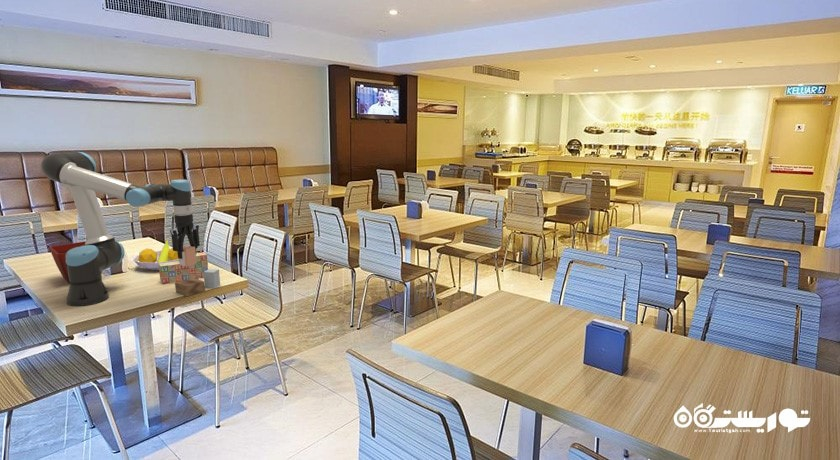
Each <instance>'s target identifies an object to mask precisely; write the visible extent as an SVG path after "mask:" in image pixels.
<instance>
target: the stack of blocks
mask: <svg viewBox="0 0 840 460" xmlns="http://www.w3.org/2000/svg"><path fill="white" fill-rule="evenodd" d="M196 253H197V254H196V260H197V264H194V265H190V266H183V265H180V261H175V262H167V263H159V270H158V271H159V280H160V282H161V284H162V285H165V284H166V285H167V284H175V283H176V282H179V281H183V280H187V279H191V278H195V279H199V278H200V279H204V271H206V270H208V269H209V264H208V263H209V262H208V261H209V260H208V254H207V253H206V252H204V251H202V252H196ZM200 279H199V280H200Z"/></svg>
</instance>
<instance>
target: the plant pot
mask: <svg viewBox="0 0 840 460" xmlns="http://www.w3.org/2000/svg"><path fill="white" fill-rule="evenodd" d="M86 241H87V240H86ZM86 241H85V240H84V241H79V242H72V243H64V244H58V245H51V246H49V250H50V254H51V256H52V257H53V261H54V263H55V264H56V267H57V269H58V270H59V272H60V274H61V276H62V277H63V279H64V280H65V281H66V282H67V283H68V284H69V277H68V271H67V265H66V253H67V252H68V251H69V250H71V249H73V248H76V247H80V246H85V242H86ZM102 273H103V271H101V274H102Z"/></svg>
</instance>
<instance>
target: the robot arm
mask: <svg viewBox="0 0 840 460" xmlns="http://www.w3.org/2000/svg"><path fill="white" fill-rule="evenodd" d="M40 169H41V172H42V173H43V175H44V176H45V177H46V178H48V179H49V180H52V181H53V182H57V183H60V184H62V185H64V186H65V187H67V188H69V191H70V194H71V196H72V198H73V199H72V200H73V201H74V204H75V205H74V206H75V208H76V210H77V213H78V217H79V219H80V222H81V225H82V227H83V231H84V232H85V233H84V234H85V236H86V242H85V241H84V242H85V246H80V247H76V248H73V249H71V250H69V251H68V252H67V253H66V265H67V271H68V277H69V283H68V284H69V288H68V291H67V295H66V303H67V305H69V306H73V307H77V306H78V307H79V306H83V307H84V306H88V305H89V306H90V305H95V304H98V303H102V302H103V301H106V300H107V299H109V297H110V294H109V291H108V289H107V287H106V286H105V283H104V282H103V279H102V273H101V271H102V272H103V271H105V270H107V269H109V268H113V267H115V266H116V265H118V264H120V263H121V262H122V261H123V260H124V258H125V253H126V252H125V248H124V246H123V245H122V243H121V242H119V241H117V240H116V239H115V236H114V235H112V234H110V233H109V230H108V227H107V224H106V221H105V218H104V216H103V215H104V214H103V213H102V209H101V206H100V203H99V200H98V197H97V194H96V193H97V192H98V193H100V194H103V195H107V196H108V197H109V196H110V197H113V198H116V199H119V200H122V201H125V202H127V204H129V205H130V206H132V207H136V208H137V207H140V208H141V207H144V206H147V205H151V204H155V203H157V202H158V203H159V202H172V207H173V214H174V223H175V228H174V229H170V230H169V232H170V235H171V242H172V245H171V246H172V247H173V251H177V253H178V259H179V260H180V265H183V266H185V255H184V251H183V247H184V241H185V237H186V236H187V239H188V243H189V246H193V247H195V250H196V251H197V249H198V247H200V246H201V245H200V244H201V243H200V236H199V235H200V234H199V233H200V232H199V228H200V226H199V224H194V223H193V222H194V215H193V214H192V213H193V206H192V205H193V204H192V192H191V191H192V189H191V185H190V184H191V183H190V181H189V180H188V179H172V180H170V184H169V183H167V184H165V183H164V184H161V183H148V184H146V185H145V186H141V185H137V184H134V183H131V182H127V181H124V180H121V179H118V178H116V177H111V176H109V175H105V174H102V173H99V172H96V170H97V163H96V162H95V160H94V159H93V157H92V156H91V155H89V154H87V152H82V151H69V152H67V151H66V152H53V153H50V154H47V155H46V156H45V157H44V158H42V161H41V163H40ZM197 253H198V252H196V254H197Z"/></svg>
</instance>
